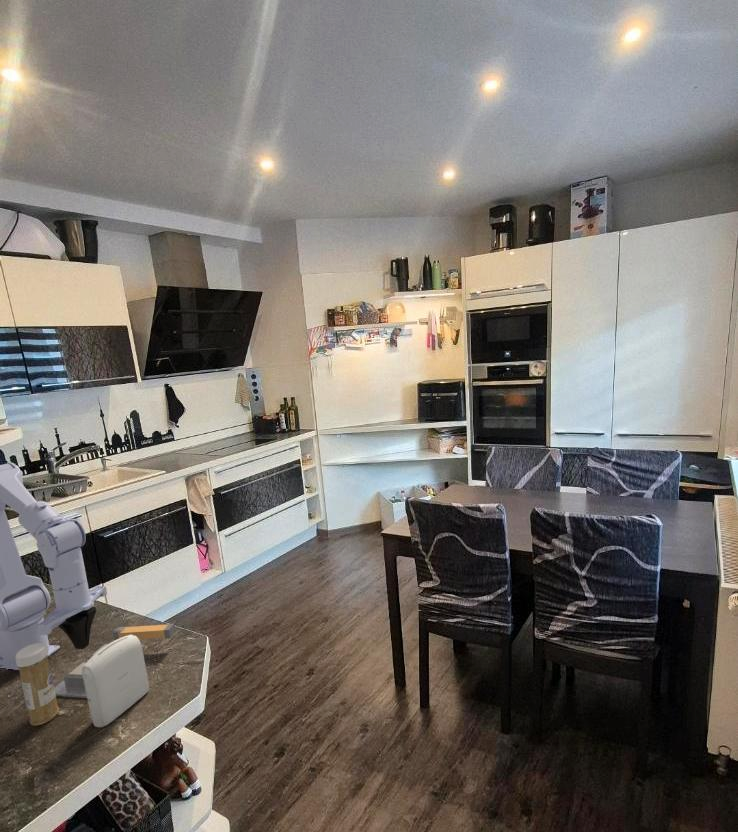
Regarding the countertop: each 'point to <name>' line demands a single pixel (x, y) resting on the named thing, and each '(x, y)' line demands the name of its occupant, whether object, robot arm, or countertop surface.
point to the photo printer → (115, 679)
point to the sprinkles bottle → (37, 683)
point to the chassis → (75, 681)
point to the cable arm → (146, 631)
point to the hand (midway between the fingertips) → (82, 646)
